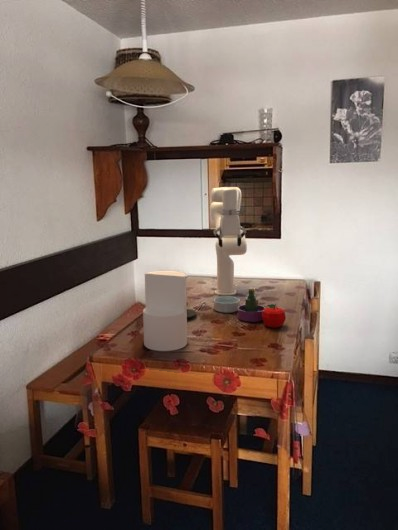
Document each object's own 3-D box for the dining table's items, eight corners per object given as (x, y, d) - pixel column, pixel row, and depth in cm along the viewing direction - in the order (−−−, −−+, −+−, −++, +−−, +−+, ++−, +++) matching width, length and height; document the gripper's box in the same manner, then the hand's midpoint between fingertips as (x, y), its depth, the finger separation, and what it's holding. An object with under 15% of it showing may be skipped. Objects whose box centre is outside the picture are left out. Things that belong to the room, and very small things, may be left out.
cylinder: (156, 333, 194) (154, 269, 189) (193, 338, 188) (193, 272, 183) (136, 347, 179) (133, 277, 173) (175, 353, 172) (174, 281, 167)
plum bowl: (248, 312, 223) (248, 302, 222) (270, 317, 215) (271, 307, 214) (231, 318, 214) (232, 308, 213) (254, 324, 205) (254, 313, 204)
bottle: (249, 314, 218) (250, 286, 216) (260, 316, 214) (260, 287, 212) (242, 317, 214) (242, 288, 211) (252, 319, 210) (253, 290, 207)
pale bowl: (224, 304, 238) (224, 295, 237) (244, 309, 230) (245, 299, 229) (208, 309, 229) (208, 300, 228) (228, 314, 220) (228, 304, 219)
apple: (280, 321, 210) (280, 300, 208) (289, 328, 200) (290, 306, 198) (258, 322, 208) (258, 301, 206) (266, 330, 197) (266, 307, 195)
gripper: (243, 212, 237) (243, 244, 240) (211, 213, 233) (211, 246, 236) (248, 213, 230) (248, 246, 233) (215, 214, 226) (215, 248, 229)
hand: (229, 246), depth 235 cm, fingers open, 9 cm apart
